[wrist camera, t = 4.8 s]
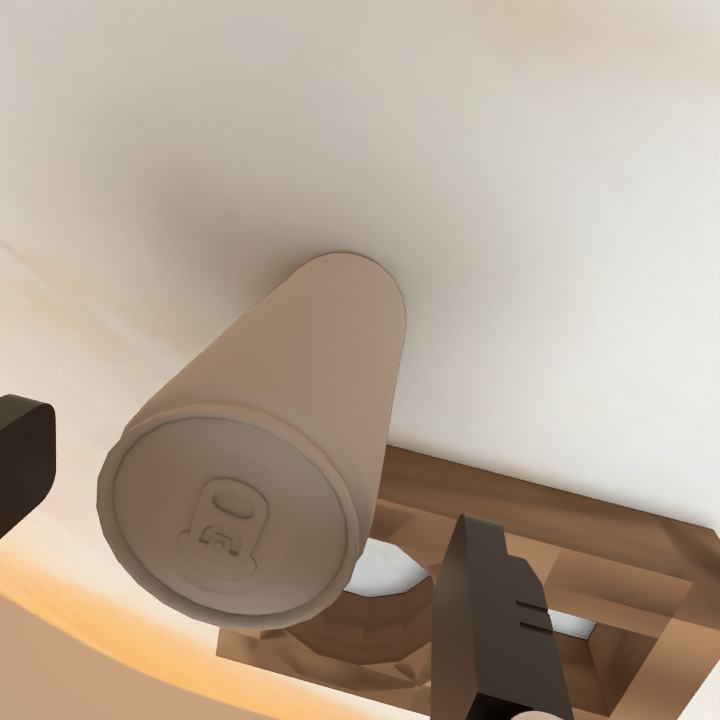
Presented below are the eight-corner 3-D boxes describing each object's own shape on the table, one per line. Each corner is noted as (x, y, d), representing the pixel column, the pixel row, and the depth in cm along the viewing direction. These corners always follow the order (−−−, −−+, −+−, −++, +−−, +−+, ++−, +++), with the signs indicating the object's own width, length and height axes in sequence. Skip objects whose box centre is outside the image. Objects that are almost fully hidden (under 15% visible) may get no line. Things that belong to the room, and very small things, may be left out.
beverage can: (264, 344, 21) (68, 574, 10) (304, 227, 19) (114, 353, 8) (379, 392, 21) (310, 672, 10) (430, 280, 19) (414, 477, 8)
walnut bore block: (272, 415, 22) (243, 463, 19) (713, 530, 21) (761, 600, 18) (243, 592, 26) (215, 655, 23) (613, 694, 25) (637, 775, 22)
